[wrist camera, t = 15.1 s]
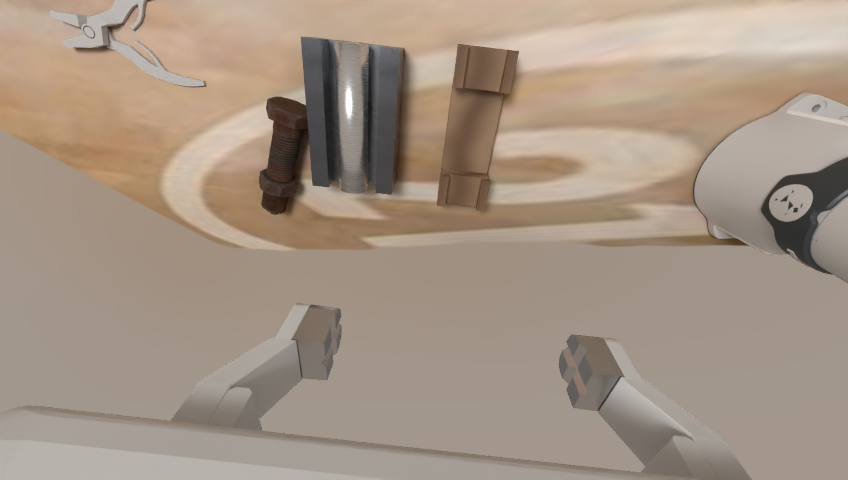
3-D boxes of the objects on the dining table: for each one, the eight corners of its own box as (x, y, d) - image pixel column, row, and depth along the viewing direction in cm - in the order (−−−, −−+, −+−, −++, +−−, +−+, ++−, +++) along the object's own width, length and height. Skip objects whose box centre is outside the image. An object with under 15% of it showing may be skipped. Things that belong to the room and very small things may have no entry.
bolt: (279, 195, 49) (298, 98, 41) (301, 214, 48) (325, 117, 40) (242, 203, 44) (256, 94, 37) (265, 224, 43) (285, 116, 35)
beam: (511, 50, 36) (519, 51, 33) (480, 198, 45) (483, 210, 42) (457, 44, 36) (459, 44, 33) (437, 193, 45) (437, 205, 42)
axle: (340, 41, 35) (328, 40, 32) (372, 44, 35) (363, 44, 32) (344, 181, 43) (335, 191, 40) (370, 184, 43) (363, 194, 40)
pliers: (200, 88, 39) (76, 78, 39) (208, 87, 40) (88, 76, 40) (173, -16, 34) (31, -27, 34) (183, -13, 35) (46, -25, 35)
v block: (404, 48, 37) (399, 48, 33) (395, 181, 45) (391, 194, 41) (316, 37, 37) (300, 36, 33) (323, 173, 45) (312, 185, 41)
